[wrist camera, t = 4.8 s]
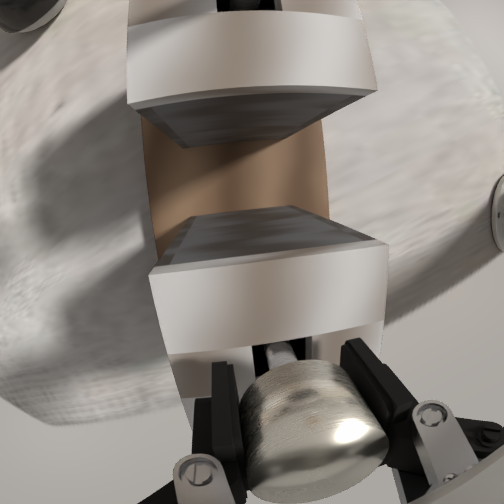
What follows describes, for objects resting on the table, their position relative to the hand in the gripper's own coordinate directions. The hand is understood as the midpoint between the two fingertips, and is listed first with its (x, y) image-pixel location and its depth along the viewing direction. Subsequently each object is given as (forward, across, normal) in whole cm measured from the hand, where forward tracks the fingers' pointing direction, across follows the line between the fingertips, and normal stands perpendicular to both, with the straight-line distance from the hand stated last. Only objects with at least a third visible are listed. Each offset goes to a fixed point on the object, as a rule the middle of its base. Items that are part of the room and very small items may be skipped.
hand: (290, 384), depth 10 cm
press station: (+19, 0, -8) cm, 20 cm away
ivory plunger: (+16, 0, 0) cm, 16 cm away
